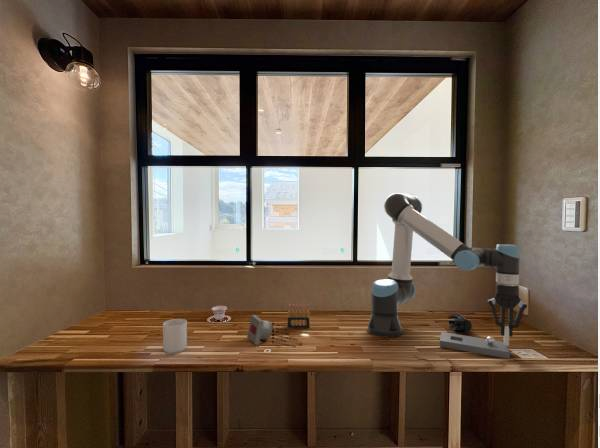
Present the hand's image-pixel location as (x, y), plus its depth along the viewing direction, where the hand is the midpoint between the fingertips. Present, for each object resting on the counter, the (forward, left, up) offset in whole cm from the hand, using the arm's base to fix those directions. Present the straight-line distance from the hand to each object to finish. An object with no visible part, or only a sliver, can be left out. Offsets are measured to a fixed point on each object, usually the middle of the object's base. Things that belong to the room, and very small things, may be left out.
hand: (506, 343), depth 122 cm
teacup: (-127, -22, -4) cm, 129 cm away
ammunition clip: (-85, -13, -4) cm, 86 cm away
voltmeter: (-86, -36, -4) cm, 93 cm away
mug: (-117, -58, -4) cm, 131 cm away
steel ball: (-5, 0, 0) cm, 5 cm away
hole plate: (-11, 0, -4) cm, 12 cm away
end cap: (-16, +20, -4) cm, 26 cm away
